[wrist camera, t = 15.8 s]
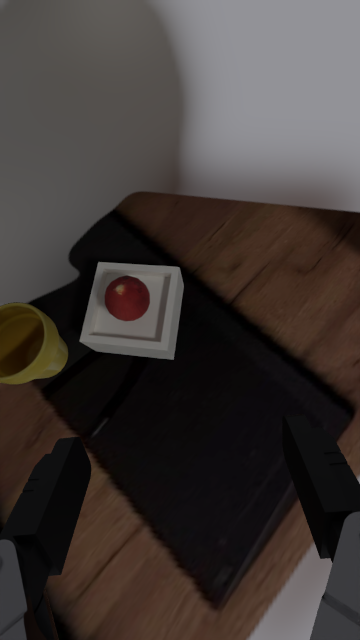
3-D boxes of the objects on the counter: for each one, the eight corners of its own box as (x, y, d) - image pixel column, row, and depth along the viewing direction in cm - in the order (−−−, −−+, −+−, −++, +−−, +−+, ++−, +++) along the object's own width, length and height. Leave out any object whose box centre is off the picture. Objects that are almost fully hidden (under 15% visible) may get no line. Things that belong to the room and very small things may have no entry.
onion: (121, 284, 43) (104, 258, 36) (158, 293, 43) (150, 269, 35) (107, 321, 42) (87, 302, 34) (146, 331, 41) (135, 315, 34)
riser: (184, 286, 48) (179, 267, 42) (173, 360, 45) (167, 350, 38) (112, 281, 50) (98, 261, 44) (97, 351, 46) (79, 341, 40)
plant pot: (47, 312, 49) (8, 287, 40) (93, 346, 46) (63, 328, 37) (3, 364, 47) (-49, 351, 38) (49, 403, 44) (5, 399, 35)
